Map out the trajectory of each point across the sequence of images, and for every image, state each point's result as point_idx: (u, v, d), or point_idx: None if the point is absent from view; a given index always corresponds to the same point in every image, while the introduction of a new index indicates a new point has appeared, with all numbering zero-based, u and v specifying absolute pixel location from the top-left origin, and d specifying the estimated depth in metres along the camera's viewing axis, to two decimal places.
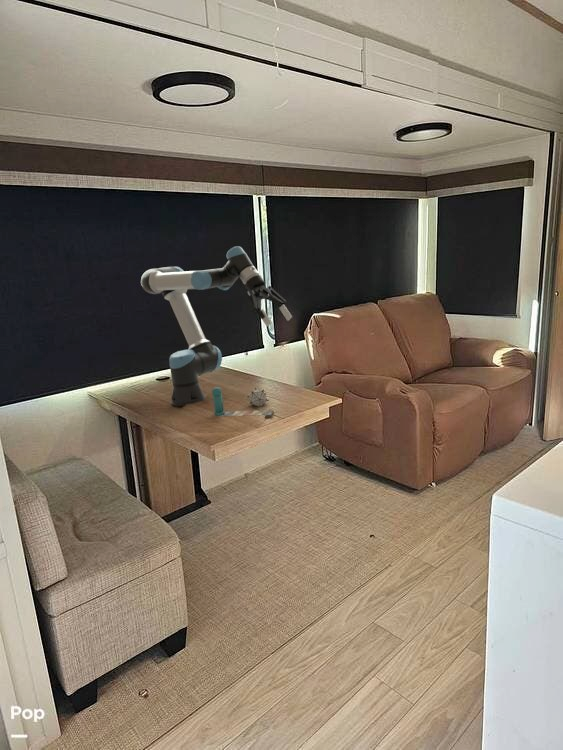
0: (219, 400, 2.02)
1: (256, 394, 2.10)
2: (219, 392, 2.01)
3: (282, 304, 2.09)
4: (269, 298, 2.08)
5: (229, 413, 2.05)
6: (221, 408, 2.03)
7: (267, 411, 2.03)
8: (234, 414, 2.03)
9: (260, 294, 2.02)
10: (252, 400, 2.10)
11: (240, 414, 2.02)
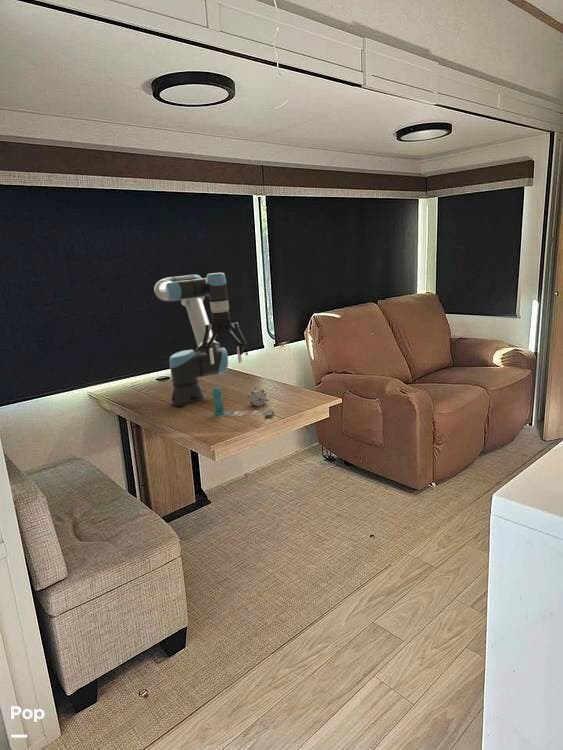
0: (219, 400, 2.02)
1: (256, 394, 2.10)
2: (219, 392, 2.01)
3: (238, 346, 2.07)
4: None
5: (229, 413, 2.05)
6: (221, 408, 2.03)
7: (267, 411, 2.03)
8: (234, 414, 2.03)
9: (214, 332, 2.06)
10: (252, 400, 2.10)
11: (240, 414, 2.02)
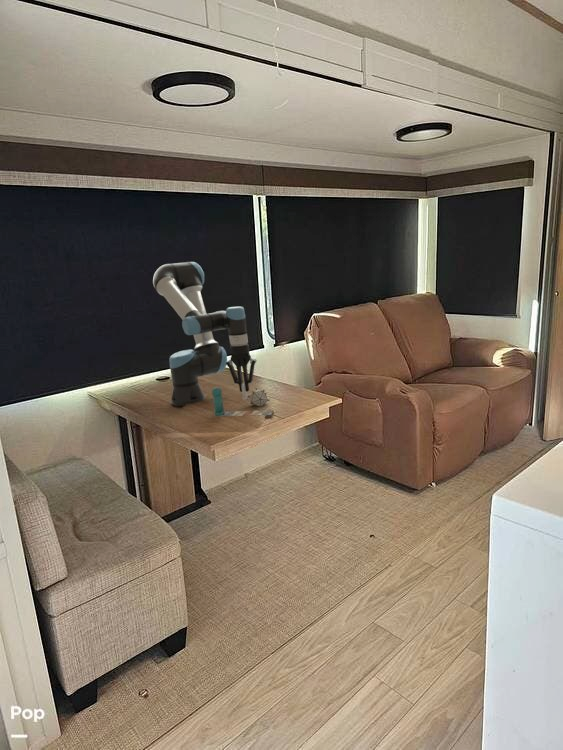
0: (219, 400, 2.02)
1: (257, 394, 2.10)
2: (219, 392, 2.01)
3: None
4: None
5: (229, 413, 2.05)
6: (221, 408, 2.03)
7: (267, 411, 2.03)
8: (234, 414, 2.03)
9: (237, 366, 2.08)
10: (253, 400, 2.10)
11: (240, 414, 2.02)
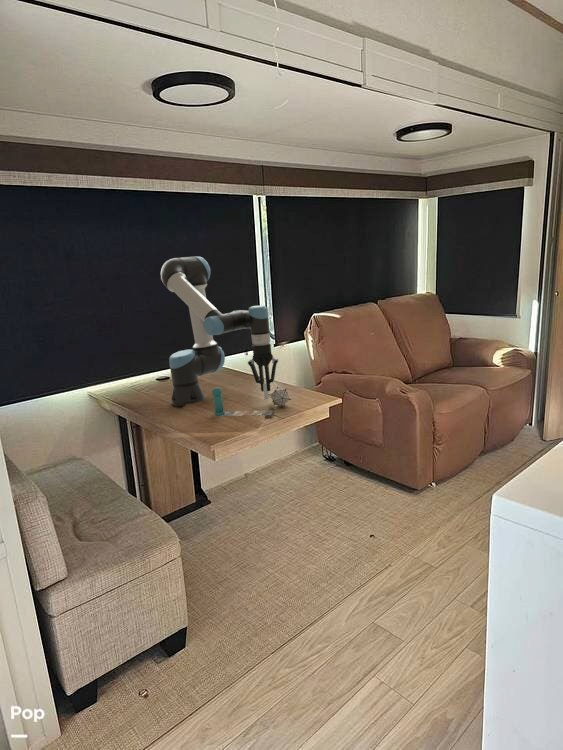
0: (219, 400, 2.02)
1: (279, 392, 2.08)
2: (219, 392, 2.01)
3: (266, 383, 2.09)
4: None
5: (229, 413, 2.05)
6: (221, 408, 2.03)
7: (267, 411, 2.03)
8: (234, 414, 2.03)
9: (259, 366, 2.07)
10: (274, 398, 2.08)
11: (240, 414, 2.02)
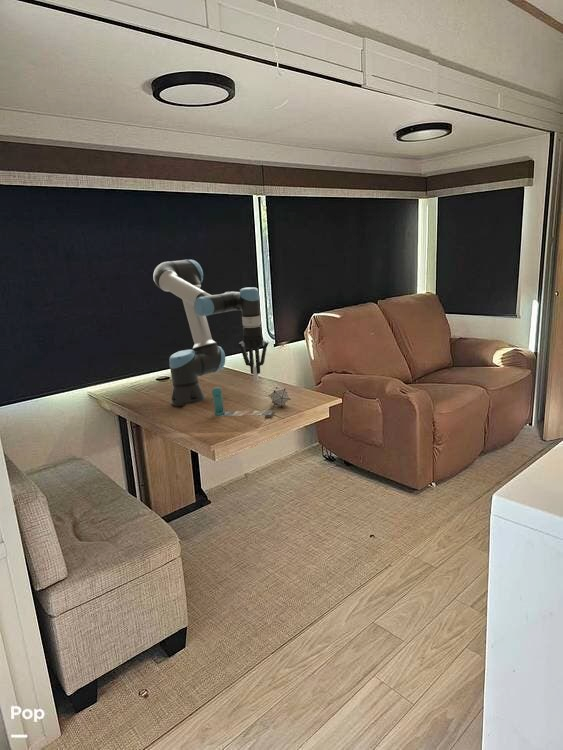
0: (219, 400, 2.02)
1: (278, 393, 2.08)
2: (219, 392, 2.01)
3: (256, 365, 2.09)
4: None
5: (229, 413, 2.05)
6: (221, 408, 2.03)
7: (267, 411, 2.03)
8: (234, 414, 2.03)
9: (249, 348, 2.06)
10: (274, 399, 2.08)
11: (240, 414, 2.02)
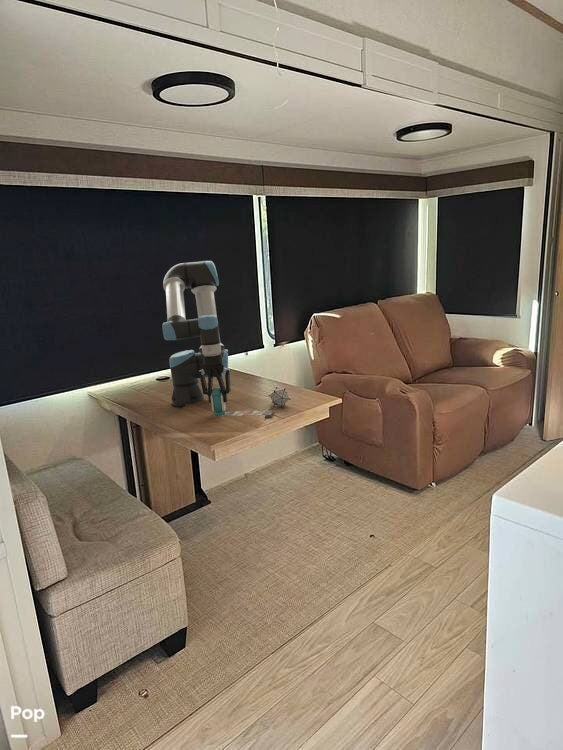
0: (219, 400, 2.02)
1: (278, 393, 2.08)
2: (219, 392, 2.01)
3: None
4: None
5: (229, 413, 2.05)
6: (221, 408, 2.03)
7: (267, 411, 2.03)
8: (234, 414, 2.03)
9: (209, 377, 2.00)
10: (274, 399, 2.08)
11: (240, 414, 2.02)
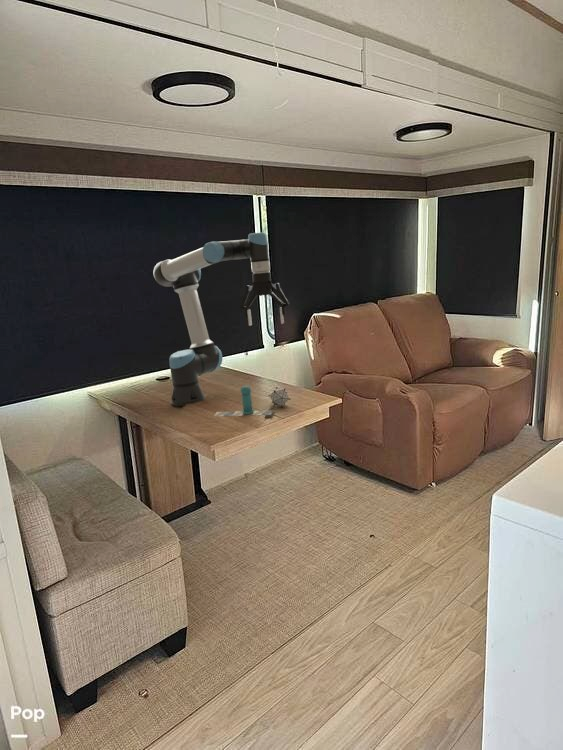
0: (248, 399, 2.00)
1: (278, 393, 2.08)
2: (248, 391, 1.99)
3: (281, 306, 2.04)
4: None
5: (229, 413, 2.05)
6: (250, 407, 2.01)
7: (267, 411, 2.03)
8: (234, 414, 2.03)
9: (255, 293, 2.03)
10: (274, 399, 2.08)
11: (240, 414, 2.02)
